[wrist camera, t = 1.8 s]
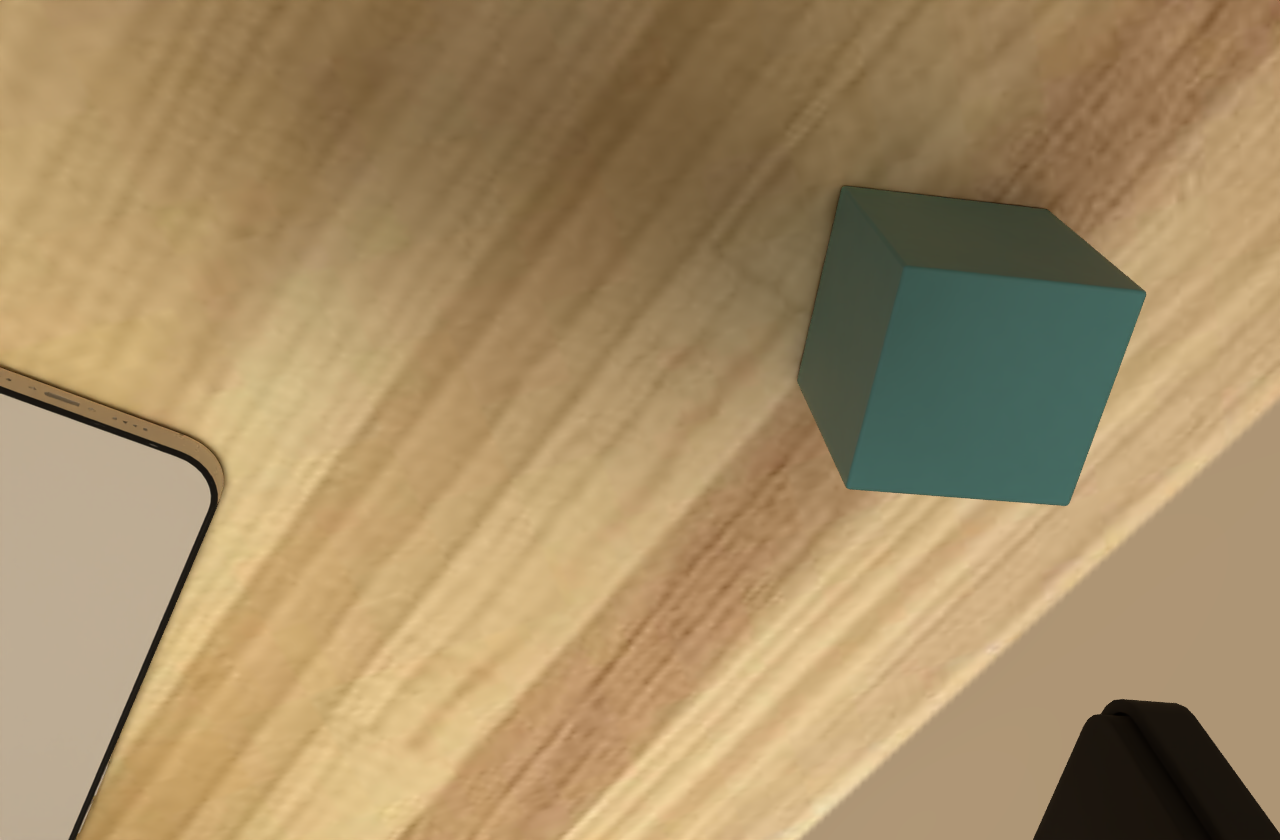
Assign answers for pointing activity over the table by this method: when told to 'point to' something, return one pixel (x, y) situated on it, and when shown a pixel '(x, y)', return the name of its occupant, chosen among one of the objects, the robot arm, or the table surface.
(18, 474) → the smartphone
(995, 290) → the block
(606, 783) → the table surface
